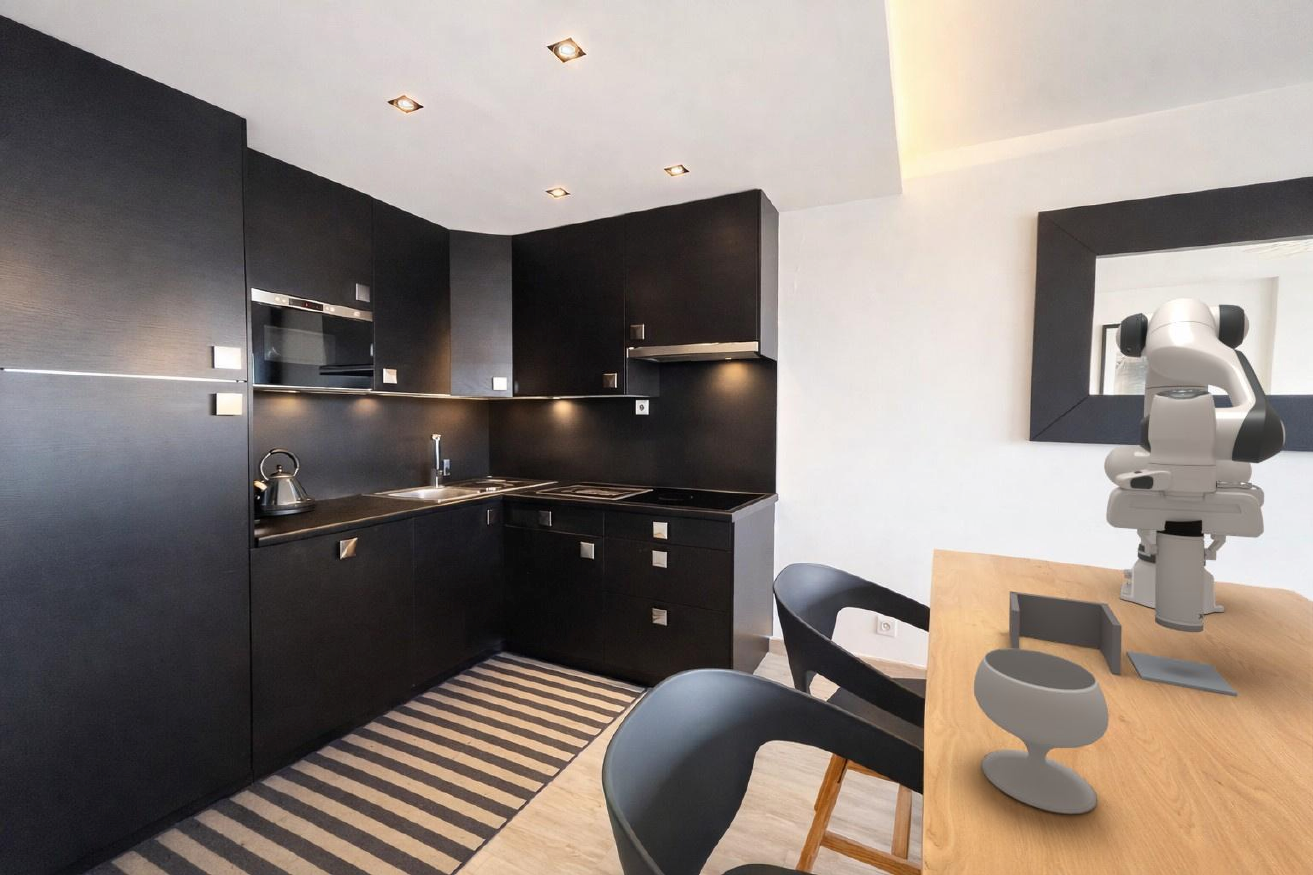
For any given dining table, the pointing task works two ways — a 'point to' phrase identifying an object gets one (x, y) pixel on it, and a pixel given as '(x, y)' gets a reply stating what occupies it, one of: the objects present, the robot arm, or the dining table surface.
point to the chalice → (1040, 725)
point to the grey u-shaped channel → (1066, 624)
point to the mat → (1180, 673)
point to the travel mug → (1180, 576)
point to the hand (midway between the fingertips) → (1179, 556)
